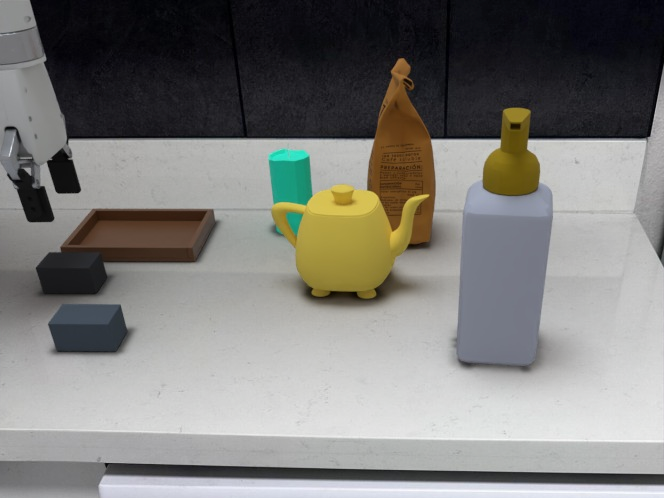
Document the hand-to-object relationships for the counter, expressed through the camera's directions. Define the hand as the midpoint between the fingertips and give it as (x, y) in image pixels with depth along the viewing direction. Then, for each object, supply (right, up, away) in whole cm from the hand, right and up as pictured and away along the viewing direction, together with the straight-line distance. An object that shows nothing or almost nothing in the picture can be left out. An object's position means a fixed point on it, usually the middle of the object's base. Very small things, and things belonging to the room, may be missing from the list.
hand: (55, 206), depth 98 cm
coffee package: (+43, +4, +20) cm, 47 cm away
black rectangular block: (0, -8, +7) cm, 10 cm away
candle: (+27, +5, +21) cm, 35 cm away
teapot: (+37, -8, +7) cm, 38 cm away
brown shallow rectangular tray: (+5, +2, +18) cm, 19 cm away
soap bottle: (+54, -19, -6) cm, 58 cm away
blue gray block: (+6, -18, -4) cm, 19 cm away
